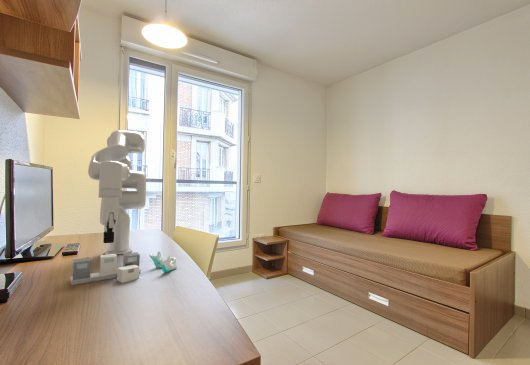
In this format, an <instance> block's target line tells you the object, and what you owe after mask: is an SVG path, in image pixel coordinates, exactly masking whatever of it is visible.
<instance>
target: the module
mask: <svg viewBox="0 0 530 365" xmlns="http://www.w3.org/2000/svg"><path fill="white" fill-rule="evenodd" d="M117 262H118V255H116V254H101V255H100V256H99V272H100V275H101V276H103V275H110V274H116V271H117V270H118V267H117V266H118V264H117Z"/></svg>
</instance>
